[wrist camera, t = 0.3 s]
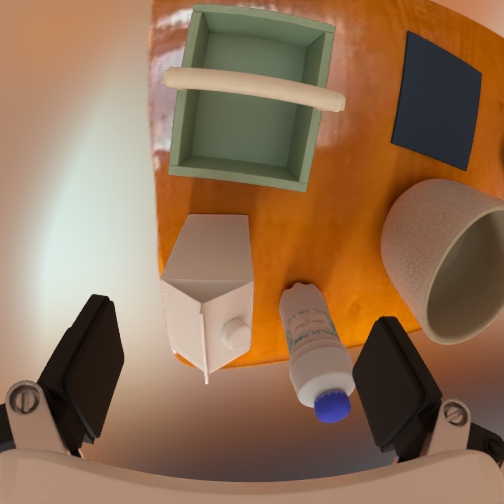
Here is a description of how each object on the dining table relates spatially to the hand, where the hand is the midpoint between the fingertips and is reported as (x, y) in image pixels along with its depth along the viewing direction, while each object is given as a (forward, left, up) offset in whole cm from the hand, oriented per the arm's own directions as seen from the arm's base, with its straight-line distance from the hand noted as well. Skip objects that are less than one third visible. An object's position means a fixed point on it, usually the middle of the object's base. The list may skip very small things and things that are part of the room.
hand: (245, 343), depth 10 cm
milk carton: (+8, -2, -26) cm, 27 cm away
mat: (-16, +24, -26) cm, 39 cm away
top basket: (-9, -1, -20) cm, 22 cm away
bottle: (+15, +10, -26) cm, 32 cm away
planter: (+2, +25, -26) cm, 37 cm away
